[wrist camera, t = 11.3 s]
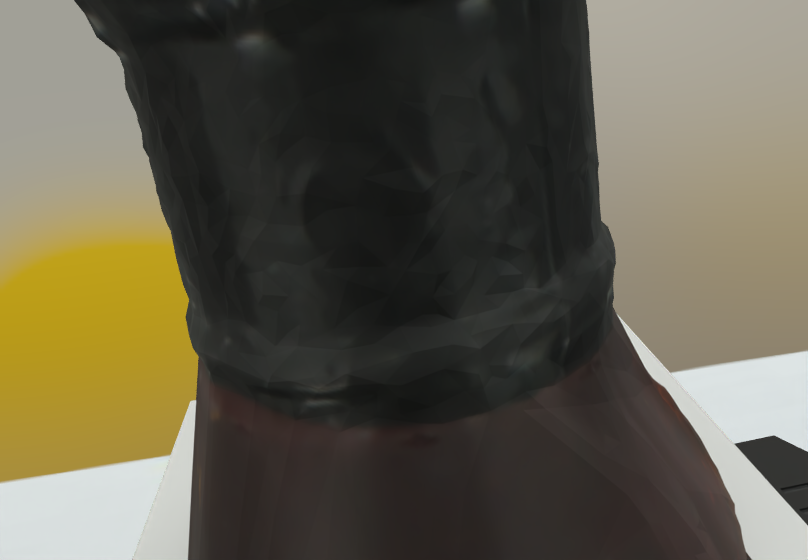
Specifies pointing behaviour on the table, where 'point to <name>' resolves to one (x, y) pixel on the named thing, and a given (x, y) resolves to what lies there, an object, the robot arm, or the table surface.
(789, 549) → the robot arm
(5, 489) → the table surface
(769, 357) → the table surface
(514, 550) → the sauce bottle
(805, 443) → the table surface
